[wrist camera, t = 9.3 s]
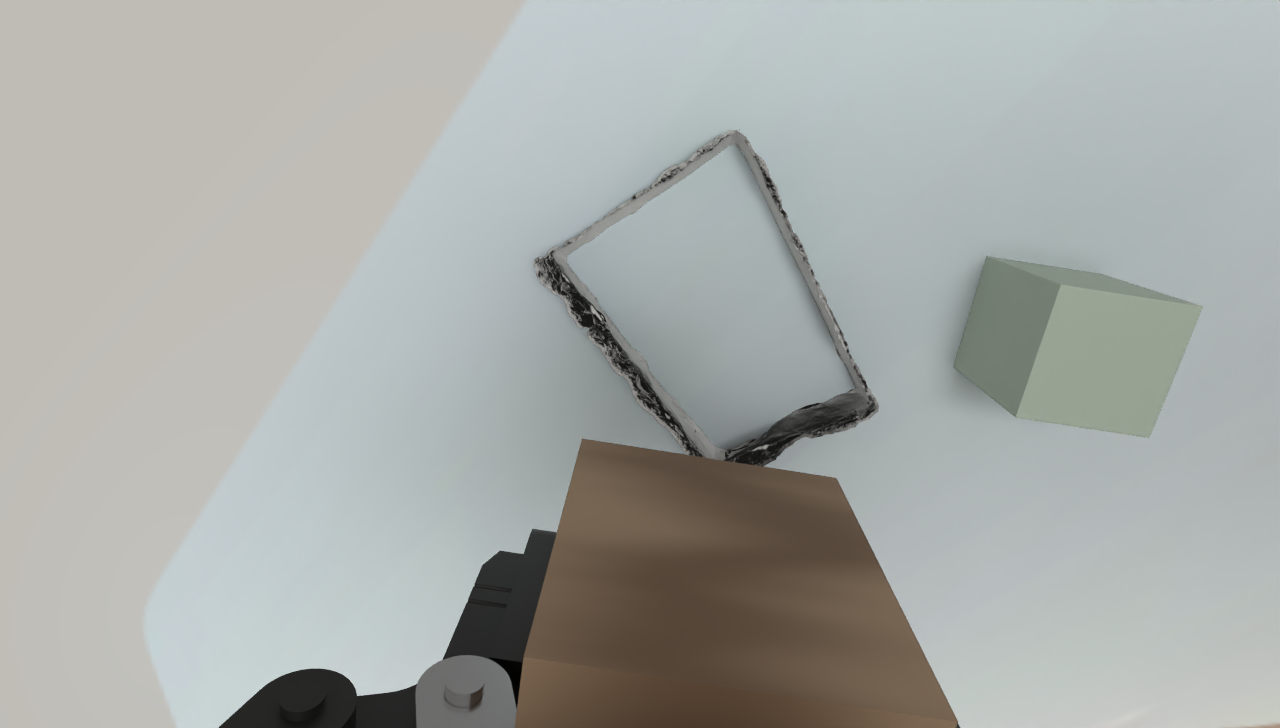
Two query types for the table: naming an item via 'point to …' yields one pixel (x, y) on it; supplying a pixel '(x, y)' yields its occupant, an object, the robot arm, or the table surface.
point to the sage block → (1074, 346)
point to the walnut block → (717, 605)
